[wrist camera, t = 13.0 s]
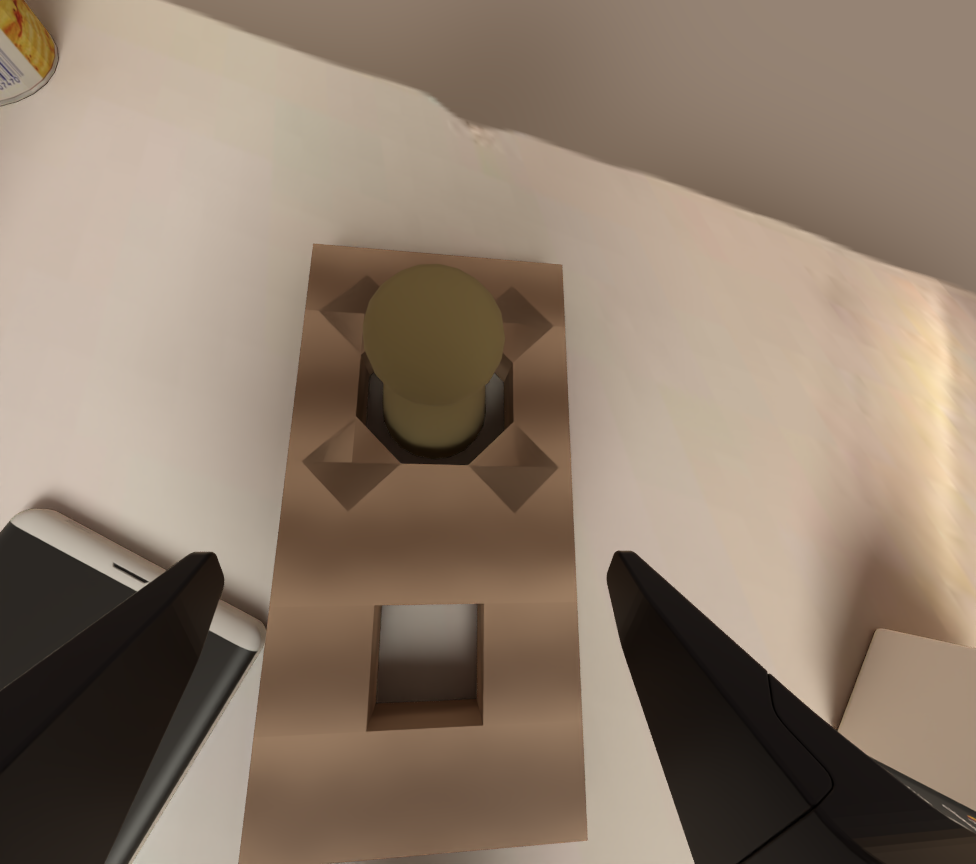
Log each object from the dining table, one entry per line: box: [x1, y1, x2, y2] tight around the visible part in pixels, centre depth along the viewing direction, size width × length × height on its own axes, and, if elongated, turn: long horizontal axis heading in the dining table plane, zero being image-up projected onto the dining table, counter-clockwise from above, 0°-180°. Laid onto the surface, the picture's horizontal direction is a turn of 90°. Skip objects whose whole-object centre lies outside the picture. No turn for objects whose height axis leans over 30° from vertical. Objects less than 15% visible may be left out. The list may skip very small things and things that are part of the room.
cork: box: [363, 264, 505, 459], centre depth 19 cm, size 6×6×11 cm
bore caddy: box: [238, 244, 588, 864], centre depth 21 cm, size 28×14×3 cm, turn 0°
